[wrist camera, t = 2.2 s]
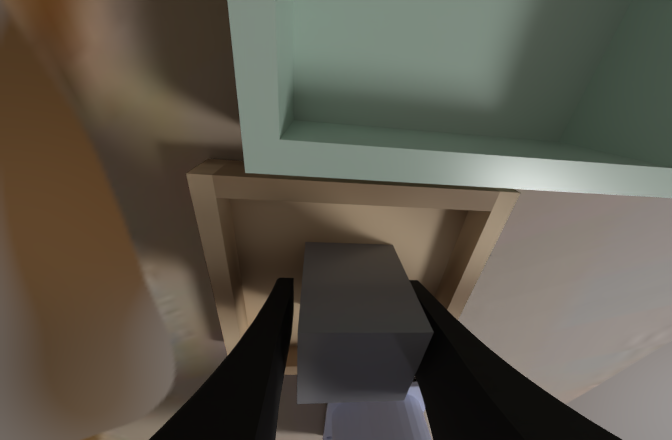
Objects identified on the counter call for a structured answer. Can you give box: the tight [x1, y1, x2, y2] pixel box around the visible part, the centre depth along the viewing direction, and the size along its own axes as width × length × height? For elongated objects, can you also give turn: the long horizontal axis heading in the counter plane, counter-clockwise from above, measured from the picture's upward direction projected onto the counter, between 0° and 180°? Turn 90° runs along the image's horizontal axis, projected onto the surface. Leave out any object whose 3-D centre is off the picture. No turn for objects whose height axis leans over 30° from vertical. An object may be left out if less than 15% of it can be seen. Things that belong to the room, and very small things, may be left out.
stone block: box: [297, 242, 434, 404], centre depth 10 cm, size 4×4×4 cm
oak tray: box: [186, 159, 520, 375], centre depth 12 cm, size 12×12×2 cm
